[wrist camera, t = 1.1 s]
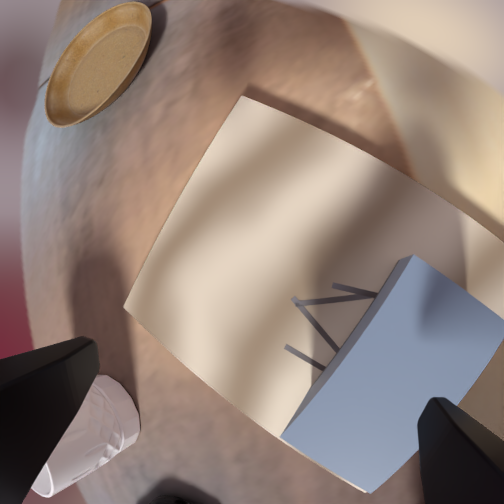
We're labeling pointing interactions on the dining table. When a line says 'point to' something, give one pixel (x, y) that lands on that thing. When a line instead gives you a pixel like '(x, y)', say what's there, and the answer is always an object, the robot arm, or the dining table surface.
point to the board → (292, 258)
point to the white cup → (91, 436)
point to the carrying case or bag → (169, 500)
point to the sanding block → (394, 374)
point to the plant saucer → (98, 64)
